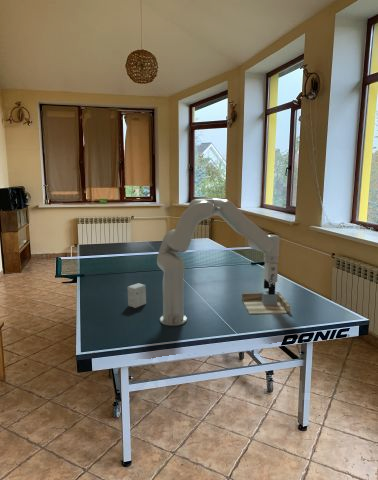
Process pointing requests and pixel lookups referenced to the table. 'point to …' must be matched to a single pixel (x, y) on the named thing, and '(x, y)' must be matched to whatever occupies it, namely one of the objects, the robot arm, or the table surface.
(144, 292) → the small box
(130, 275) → the table surface
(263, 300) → the grey block
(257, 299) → the wooden tray
